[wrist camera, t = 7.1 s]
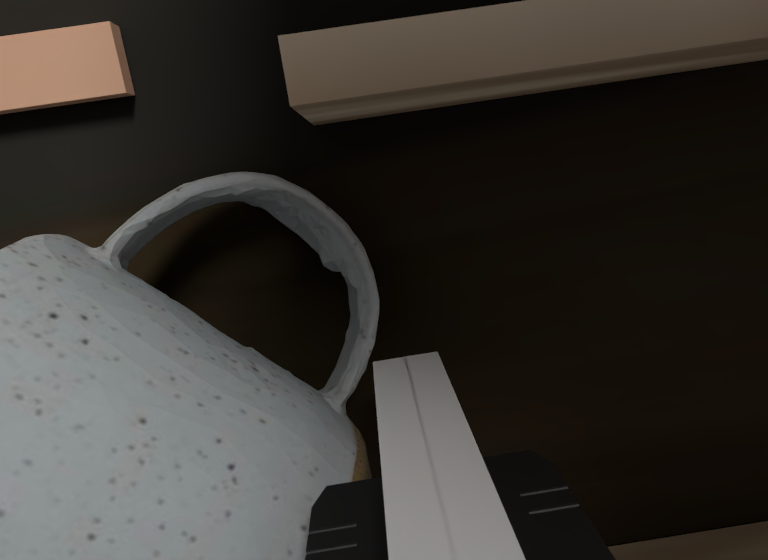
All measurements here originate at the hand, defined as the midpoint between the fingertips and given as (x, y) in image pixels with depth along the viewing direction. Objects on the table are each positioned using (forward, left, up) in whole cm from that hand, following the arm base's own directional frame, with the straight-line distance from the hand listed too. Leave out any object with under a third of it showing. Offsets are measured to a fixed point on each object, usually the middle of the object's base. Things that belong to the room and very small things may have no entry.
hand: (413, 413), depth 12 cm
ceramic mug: (-1, -5, -3) cm, 6 cm away
